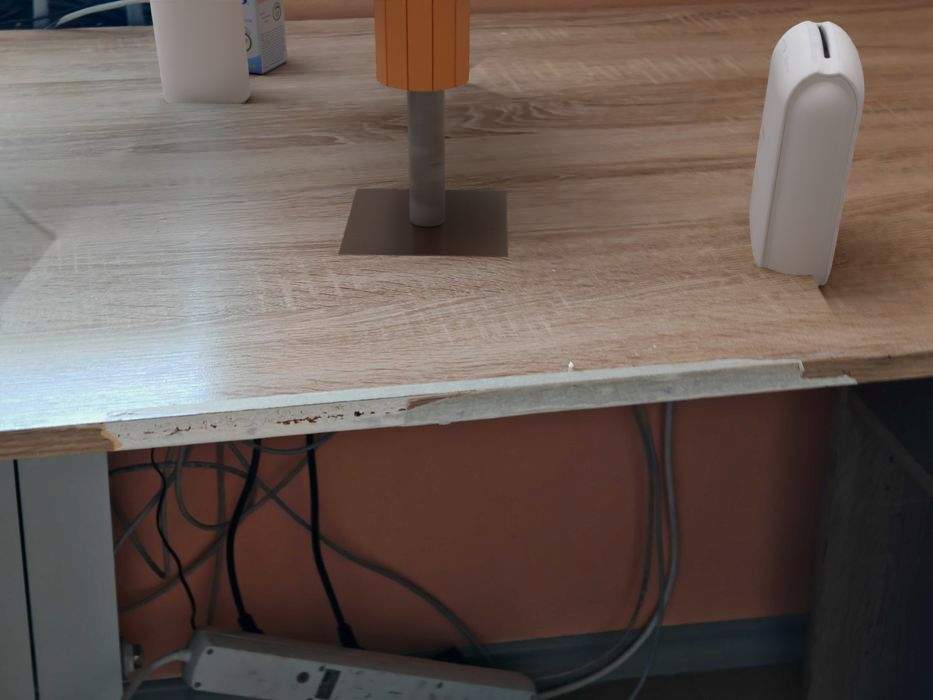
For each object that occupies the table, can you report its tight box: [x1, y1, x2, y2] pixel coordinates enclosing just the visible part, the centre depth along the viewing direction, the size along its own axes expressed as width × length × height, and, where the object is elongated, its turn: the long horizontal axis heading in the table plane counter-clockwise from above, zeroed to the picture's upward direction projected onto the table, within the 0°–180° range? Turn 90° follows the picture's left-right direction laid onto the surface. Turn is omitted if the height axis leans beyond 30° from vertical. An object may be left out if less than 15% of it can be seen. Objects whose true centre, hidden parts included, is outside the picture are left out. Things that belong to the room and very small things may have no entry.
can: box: [149, 0, 251, 105], centre depth 79 cm, size 6×6×12 cm
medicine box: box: [242, 0, 288, 75], centre depth 89 cm, size 8×4×9 cm, turn 70°
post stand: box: [338, 89, 509, 258], centre depth 57 cm, size 9×9×17 cm
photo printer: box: [748, 20, 866, 287], centre depth 57 cm, size 10×4×12 cm, turn 169°
